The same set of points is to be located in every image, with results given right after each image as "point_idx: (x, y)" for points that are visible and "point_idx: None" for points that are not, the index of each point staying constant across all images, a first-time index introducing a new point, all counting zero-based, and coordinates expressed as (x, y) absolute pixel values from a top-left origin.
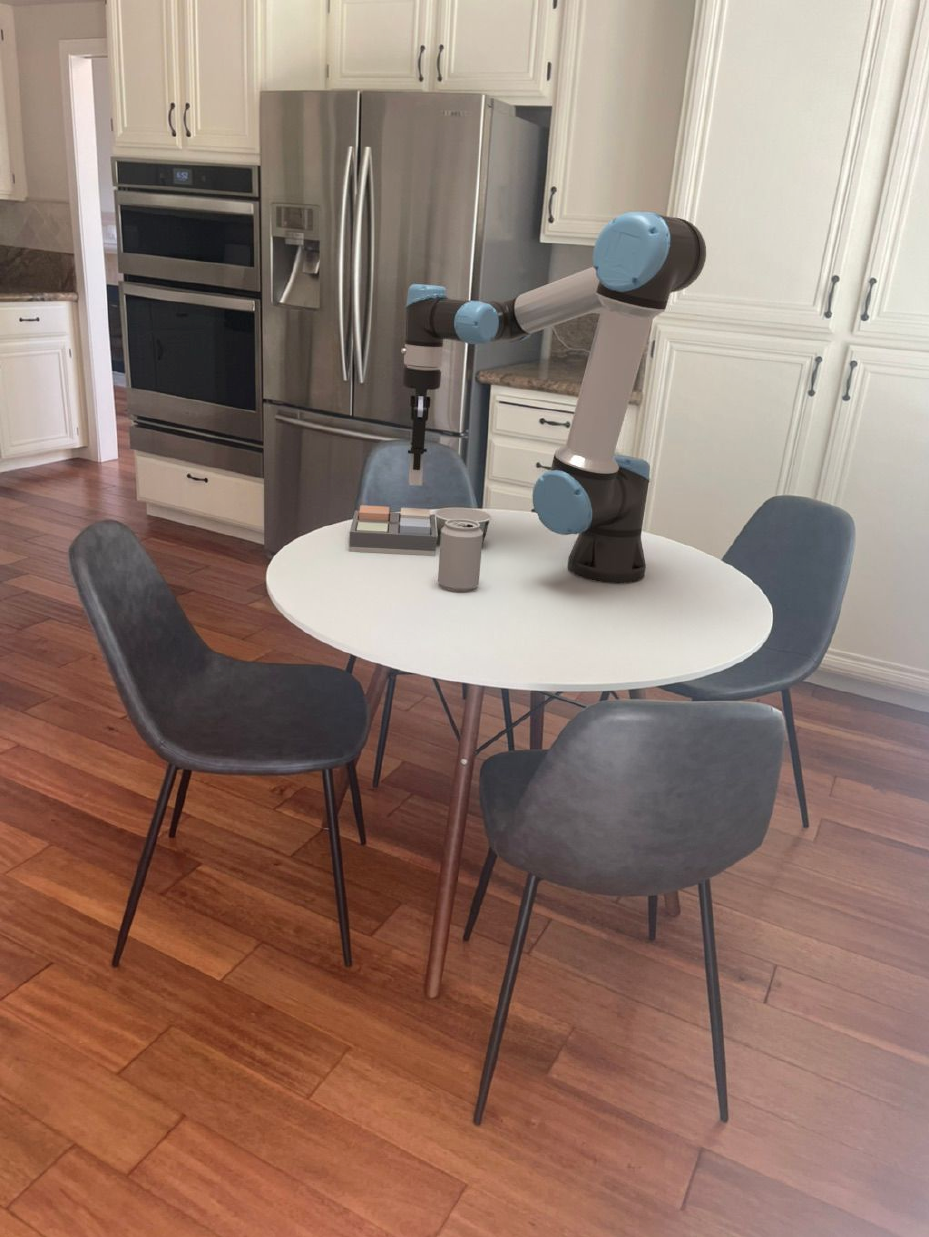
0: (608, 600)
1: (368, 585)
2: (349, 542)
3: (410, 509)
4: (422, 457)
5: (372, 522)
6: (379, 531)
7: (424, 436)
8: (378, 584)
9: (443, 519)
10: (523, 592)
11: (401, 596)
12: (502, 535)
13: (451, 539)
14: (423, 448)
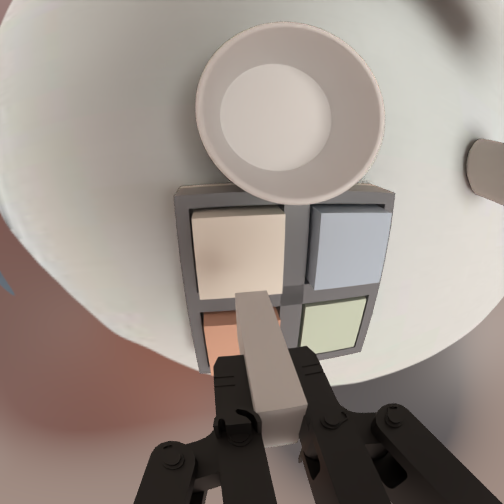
0: (472, 5)
1: (462, 276)
2: None
3: (214, 274)
4: (302, 392)
5: (294, 335)
6: (362, 311)
7: (465, 471)
8: (462, 266)
9: (361, 177)
10: (482, 84)
11: (488, 238)
12: (165, 20)
13: None
14: (418, 422)
